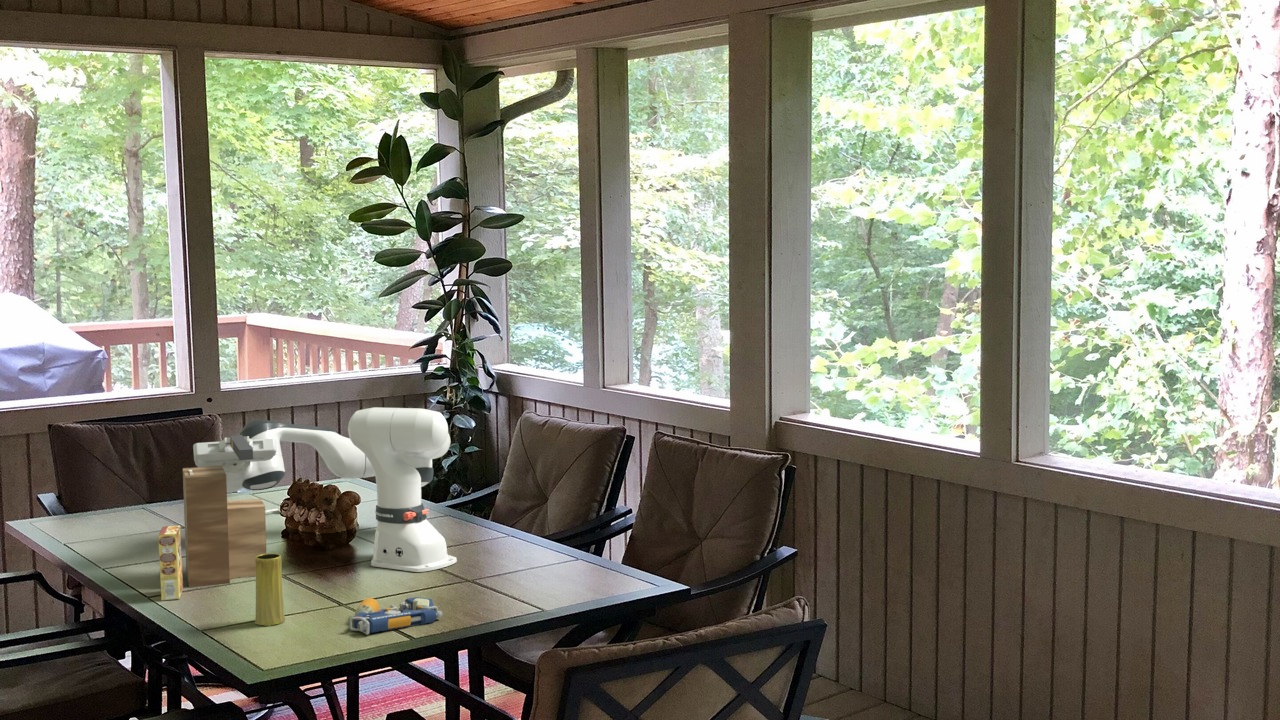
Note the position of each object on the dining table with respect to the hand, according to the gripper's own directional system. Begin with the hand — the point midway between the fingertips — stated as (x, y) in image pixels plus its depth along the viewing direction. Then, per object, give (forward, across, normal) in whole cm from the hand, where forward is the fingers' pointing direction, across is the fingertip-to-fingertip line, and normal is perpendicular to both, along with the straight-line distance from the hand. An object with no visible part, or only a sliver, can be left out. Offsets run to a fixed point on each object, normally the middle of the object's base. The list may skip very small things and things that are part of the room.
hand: (237, 439), depth 305 cm
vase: (+31, 0, -55) cm, 63 cm away
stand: (-6, +4, -33) cm, 34 cm away
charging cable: (-66, -13, +1) cm, 67 cm away
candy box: (+5, +18, -39) cm, 43 cm away
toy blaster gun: (+39, -24, -60) cm, 75 cm away
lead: (+7, 0, -6) cm, 9 cm away
